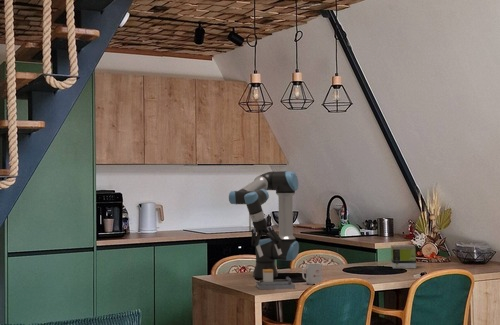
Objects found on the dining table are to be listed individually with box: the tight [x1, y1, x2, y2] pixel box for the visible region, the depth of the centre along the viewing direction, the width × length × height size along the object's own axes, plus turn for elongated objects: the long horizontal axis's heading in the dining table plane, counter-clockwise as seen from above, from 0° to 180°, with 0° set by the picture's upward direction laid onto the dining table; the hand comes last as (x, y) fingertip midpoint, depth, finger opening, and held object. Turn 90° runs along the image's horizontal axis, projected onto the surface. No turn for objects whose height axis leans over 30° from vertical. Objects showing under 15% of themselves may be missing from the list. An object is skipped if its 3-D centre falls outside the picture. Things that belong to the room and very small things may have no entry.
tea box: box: [390, 244, 417, 269], centre depth 458 cm, size 15×10×15 cm, turn 84°
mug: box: [301, 263, 323, 286], centre depth 397 cm, size 12×9×11 cm
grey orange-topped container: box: [262, 269, 274, 282], centre depth 388 cm, size 5×5×8 cm
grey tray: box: [255, 276, 296, 291], centre depth 388 cm, size 20×13×5 cm, turn 97°
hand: (270, 255), depth 382 cm, fingers open, 13 cm apart
